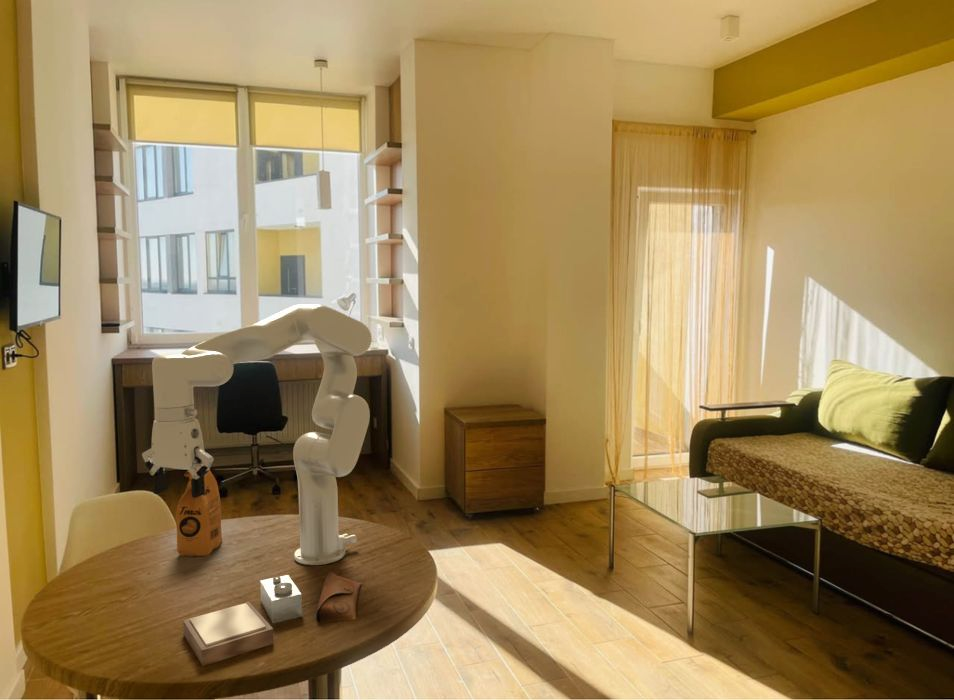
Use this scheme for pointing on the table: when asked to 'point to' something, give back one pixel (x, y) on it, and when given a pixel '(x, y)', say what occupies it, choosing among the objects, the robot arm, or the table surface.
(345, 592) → the sunglasses case
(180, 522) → the coffee package
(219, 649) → the stand
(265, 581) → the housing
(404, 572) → the table surface
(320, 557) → the robot arm
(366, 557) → the table surface
